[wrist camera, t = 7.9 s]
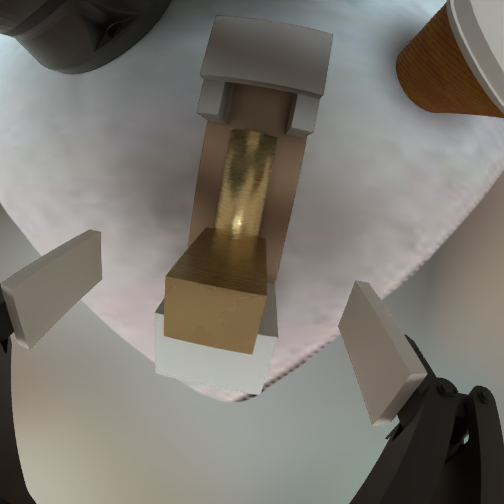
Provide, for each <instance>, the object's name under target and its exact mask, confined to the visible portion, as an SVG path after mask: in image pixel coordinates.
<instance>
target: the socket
mask: <svg viewBox="0 0 504 504" xmlns="http://www.w3.org/2000/svg"><path fill="white" fill-rule="evenodd" d="M164 301H165V298H164V299H163V301H162V302H161V304H160V305H159V307H158V308H157V310H156V311H155V364H156V373H157V374H161V375H164V376H168V377H172V378H175V379H179V380H183V381H188V382H192V383H196V384H201V385H206V386H210V387H215V388H221V389H226V390H232V391H237V392H244V393H250V394H257V395H260V393H261V390H262V387H263V384H264V381H265V378H266V375H267V372H268V369H269V366H270V362H271V359H272V356H273V353H274V350H275V346H276V343H277V340H278V327H277V311H276V297H275V284H274V283H269V282H267V298H266V302H265V306H264V310H263V314H262V318H261V322H260V326H259V330H258V334H257V338H256V342H255V346H254V350H253V354H252V355H251V354H245V353H239V352H234V351H228V350H223V349H218V348H213V347H208V346H204V345H199V344H195V343H190V342H186V341H182V340H177V339H173V338H169V337H165V336H164Z"/></svg>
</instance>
